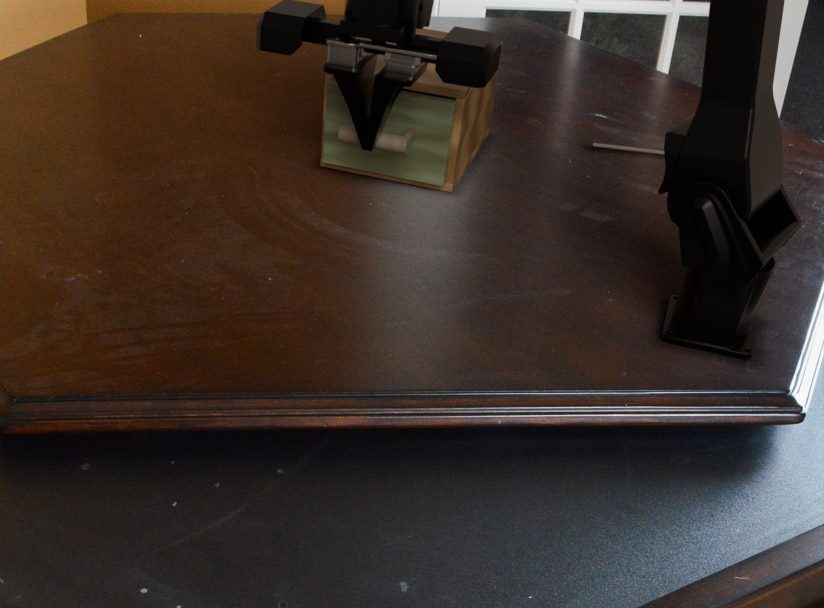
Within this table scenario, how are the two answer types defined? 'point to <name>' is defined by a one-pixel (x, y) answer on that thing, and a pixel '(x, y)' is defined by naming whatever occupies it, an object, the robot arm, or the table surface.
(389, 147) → the drawer
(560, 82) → the table surface
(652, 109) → the table surface
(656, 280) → the table surface
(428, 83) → the cabinet
